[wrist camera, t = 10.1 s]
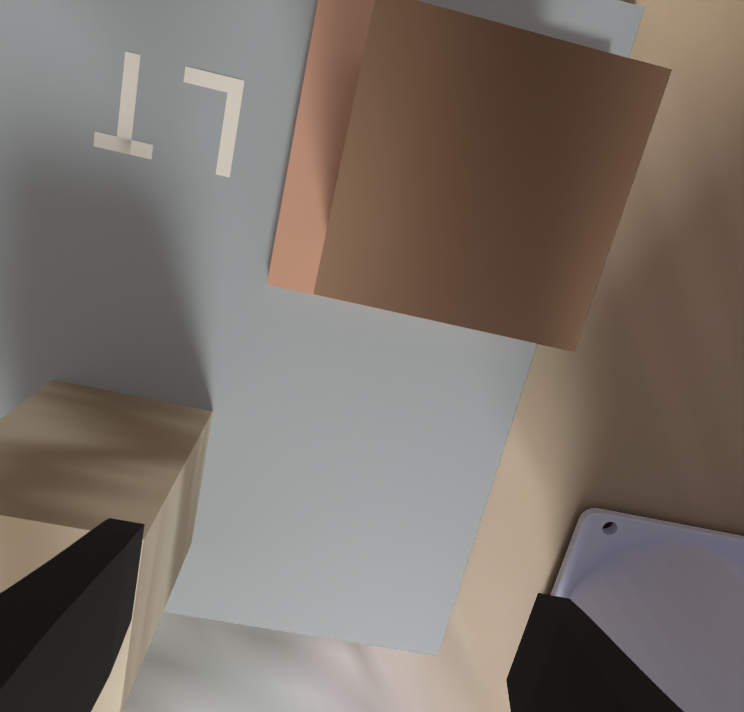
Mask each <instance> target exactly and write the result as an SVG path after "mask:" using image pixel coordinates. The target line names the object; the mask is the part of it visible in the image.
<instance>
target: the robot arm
mask: <svg viewBox="0 0 744 712" xmlns="http://www.w3.org/2000/svg"><path fill="white" fill-rule="evenodd" d="M607 522H613V523H612V525H611V526H610V527H608V528H602V527H603V526H604V524H605V523H607ZM144 526H145V524H141V523H135V522H130V521H124V520H118V519H112V518H108V519H107V520H105V521H104V522H102V523H100V524H99V525H98V526H96V527H95V528H93V529H92V530H91V531H89V532H88V533H87V534H85V535H84V536H82V537H81V538H80V539H78V540H77V541H76V542H74V543H73V544H71V545H70V546H69V547H67V548H66V549H64V550H63V551H62V552H60V553H59V554H57V555H56V556H55V557H53V558H52V559H50V560H49V561H48V562H46V563H45V564H43V565H42V566H40V567H39V568H37V569H36V570H34V571H33V572H31V573H30V574H28V575H27V576H25V577H24V578H22V579H21V580H19V581H18V582H16V583H15V584H14V585H12V586H10V587H9V588H7V589H6V590H4V591H3V592H1V593H0V712H91V711H92V709H93V707H94V705H95V703H96V701H97V699H98V697H99V695H100V694H101V692H102V690H103V688H104V686H105V684H106V682H107V680H108V678H109V676H110V674H111V671H112V669H113V666H114V664H115V661H116V659H117V656H118V654H119V651H120V649H121V646H122V643H123V641H124V638H125V636H126V633H127V630H128V628H129V625H130V623H131V620H132V613H133V606H134V599H135V591H136V584H137V577H138V569H139V562H140V555H141V547H142V540H143V533H144ZM507 687H508V694H509V701H510V708H511V712H744V536H741V535H736V534H731V533H726V532H720V531H715V530H710V529H705V528H699V527H694V526H689V525H684V524H678V523H673V522H668V521H663V520H657V519H652V518H647V517H642V516H636V515H631V514H626V513H621V512H615V511H610V510H605V509H600V508H590V509H587V510H585V511H584V512H583V513H582V514H581V516H580V517H579V519H578V522H577V525H576V528H575V530H574V533H573V536H572V538H571V541H570V544H569V546H568V549H567V552H566V554H565V557H564V560H563V562H562V565H561V568H560V570H559V573H558V576H557V578H556V581H555V584H554V587H553V589H552V592H551V595H547V594H541V593H538V595H537V598H536V600H535V603H534V606H533V609H532V611H531V614H530V617H529V620H528V622H527V625H526V628H525V631H524V633H523V636H522V639H521V642H520V644H519V647H518V650H517V652H516V655H515V658H514V661H513V663H512V666H511V669H510V672H509V674H508V677H507Z"/></svg>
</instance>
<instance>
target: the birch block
mask: <svg viewBox="0 0 744 712" xmlns="http://www.w3.org/2000/svg"><path fill="white" fill-rule="evenodd" d="M212 415H213V411H209V410H204V409H199V408H194V407H189V406H184V405H179V404H173V403H168V402H163V401H158V400H153V399H148V398H143V397H137V396H132V395H127V394H122V393H117V392H112V391H107V390H101V389H96V388H91V387H86V386H81V385H76V384H70V383H65V382H60V381H55V380H51V381H50V382H49V383H47V384H46V385H45V386H44V387H42V388H41V389H40V390H38V391H37V392H36V393H34V394H33V395H32V396H30V397H29V398H28V399H26V400H25V401H24V402H22V403H21V404H20V405H18V406H17V407H16V408H14V409H13V410H12V411H10V412H9V413H8V414H6V415H5V416H4V417H2V418H1V419H0V593H1V592H3V591H4V590H6V589H7V588H9V587H10V586H12V585H14V584H15V583H16V582H18V581H19V580H21V579H22V578H24V577H25V576H27V575H28V574H30V573H31V572H33V571H34V570H36V569H37V568H39V567H40V566H42V565H43V564H45V563H46V562H48V561H49V560H50V559H52V558H53V557H55V556H56V555H57V554H59V553H60V552H62V551H63V550H64V549H66V548H67V547H69V546H70V545H71V544H73V543H74V542H76V541H77V540H78V539H80V538H81V537H82V536H84V535H85V534H87V533H88V532H89V531H91V530H92V529H93V528H95V527H96V526H98V525H99V524H100V523H102V522H104V521H105V520H107V519H108V518H112V519H118V520H124V521H130V522H135V523H141V524H145V526H144V533H143V540H142V547H141V555H140V562H139V569H138V577H137V584H136V591H135V599H134V606H133V613H132V620H131V623H130V625H129V628H128V630H127V633H126V636H125V638H124V641H123V643H122V646H121V649H120V651H119V654H118V656H117V659H116V661H115V664H114V666H113V669H112V671H111V674H110V676H109V678H108V680H107V682H106V684H105V686H104V688H103V690H102V692H101V694H100V695H99V697H98V699H97V701H96V703H95V705H94V707H93V709H92V711H91V712H122V711H123V708H124V706H125V704H126V701H127V699H128V696H129V694H130V691H131V689H132V687H133V684H134V682H135V679H136V677H137V674H138V672H139V670H140V667H141V665H142V662H143V660H144V657H145V655H146V653H147V650H148V648H149V645H150V643H151V640H152V638H153V636H154V633H155V631H156V628H157V626H158V623H159V621H160V619H161V616H162V614H163V611H164V609H165V606H166V604H167V602H168V599H169V597H170V594H171V592H172V589H173V587H174V585H175V582H176V580H177V577H178V575H179V572H180V570H181V568H182V565H183V563H184V560H185V558H186V555H187V553H188V551H189V548H190V546H191V543H192V536H193V530H194V524H195V518H196V512H197V506H198V500H199V494H200V488H201V482H202V476H203V469H204V463H205V457H206V451H207V445H208V439H209V433H210V427H211V421H212Z"/></svg>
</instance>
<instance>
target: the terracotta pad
mask: <svg viewBox="0 0 744 712" xmlns="http://www.w3.org/2000/svg"><path fill="white" fill-rule="evenodd" d="M374 2H375V0H318V3H317V8H316V14H315V19H314V25H313V31H312V36H311V42H310V47H309V53H308V58H307V64H306V69H305V75H304V81H303V86H302V92H301V97H300V103H299V108H298V114H297V119H296V125H295V131H294V136H293V142H292V147H291V153H290V158H289V164H288V169H287V175H286V181H285V186H284V192H283V197H282V203H281V208H280V214H279V219H278V225H277V231H276V236H275V242H274V247H273V253H272V258H271V264H270V269H269V275H268V281H267V285H271V286H275V287H280V288H285V289H289V290H294V291H298V292H303V293H308V294H312V295H315V294H313V293H314V288H315V283H316V279H317V274H318V269H319V264H320V259H321V255H322V250H323V245H324V240H325V236H326V231H327V226H328V221H329V217H330V212H331V207H332V202H333V197H334V193H335V188H336V183H337V178H338V174H339V169H340V164H341V159H342V154H343V150H344V145H345V140H346V135H347V131H348V126H349V121H350V116H351V112H352V107H353V102H354V97H355V92H356V88H357V83H358V78H359V73H360V69H361V64H362V59H363V54H364V50H365V45H366V40H367V35H368V30H369V26H370V21H371V16H372V11H373V7H374ZM317 296H320V295H317ZM322 297H324V296H322ZM326 298H329V297H326ZM331 299H333V298H331ZM336 300H338V299H336ZM340 301H342V300H340ZM345 302H347V301H345ZM350 303H351V302H350ZM354 304H356V303H354ZM359 305H360V304H359ZM363 306H365V305H363ZM368 307H370V306H368ZM373 308H374V307H373ZM377 309H379V308H377ZM382 310H383V309H382ZM387 311H388V310H387ZM391 312H392V311H391ZM396 313H397V312H396ZM405 315H406V314H405ZM414 317H415V316H414Z"/></svg>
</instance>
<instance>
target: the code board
mask: <svg viewBox="0 0 744 712" xmlns="http://www.w3.org/2000/svg"><path fill="white" fill-rule="evenodd" d="M418 1H421V2H425V3H429V4H432V5H436V6H440V7H443V8H447V9H451V10H454V11H458V12H462V13H465V14H469V15H473V16H476V17H480V18H484V19H487V20H491V21H495V22H498V23H502V24H506V25H509V26H513V27H517V28H520V29H524V30H528V31H531V32H535V33H539V34H542V35H546V36H550V37H553V38H557V39H561V40H564V41H568V42H572V43H575V44H579V45H583V46H586V47H590V48H594V49H597V50H601V51H605V52H608V53H612V54H616V55H619V56H623V57H627V58H629V55H630V52H631V49H632V46H633V43H634V39H635V36H636V33H637V30H638V27H639V24H640V21H641V18H642V14H643V11H644V8H645V7H642V6H638V5H635V4H631V3H628V2H624V1H620V0H418ZM317 3H318V0H0V419H1V418H2V417H4V416H5V415H6V414H8V413H9V412H10V411H12V410H13V409H14V408H16V407H17V406H18V405H20V404H21V403H22V402H24V401H25V400H26V399H28V398H29V397H30V396H32V395H33V394H34V393H36V392H37V391H38V390H40V389H41V388H42V387H44V386H45V385H46V384H47V383H49V382H50V381H51V380H55V381H60V382H65V383H70V384H76V385H81V386H86V387H91V388H96V389H101V390H107V391H112V392H117V393H122V394H127V395H132V396H137V397H143V398H148V399H153V400H158V401H163V402H168V403H173V404H179V405H184V406H189V407H194V408H199V409H204V410H209V411H213V415H212V421H211V427H210V433H209V439H208V445H207V451H206V457H205V463H204V469H203V476H202V482H201V488H200V494H199V500H198V506H197V512H196V518H195V524H194V530H193V536H192V543H191V546H190V548H189V551H188V553H187V555H186V558H185V560H184V563H183V565H182V568H181V570H180V572H179V575H178V577H177V580H176V582H175V585H174V587H173V589H172V592H171V594H170V597H169V599H168V602H167V604H166V606H165V609H164V611H163V612H168V613H174V614H180V615H186V616H193V617H199V618H205V619H211V620H217V621H223V622H230V623H236V624H242V625H248V626H254V627H260V628H267V629H273V630H279V631H285V632H291V633H297V634H304V635H310V636H316V637H322V638H328V639H334V640H341V641H347V642H353V643H359V644H365V645H371V646H378V647H384V648H390V649H396V650H402V651H408V652H414V653H421V654H427V655H433V656H438V653H439V650H440V646H441V643H442V640H443V637H444V634H445V631H446V628H447V625H448V621H449V618H450V615H451V612H452V609H453V606H454V603H455V600H456V596H457V593H458V590H459V587H460V584H461V581H462V578H463V574H464V571H465V568H466V565H467V562H468V559H469V556H470V553H471V549H472V546H473V543H474V540H475V537H476V534H477V531H478V528H479V524H480V521H481V518H482V515H483V512H484V509H485V506H486V503H487V499H488V496H489V493H490V490H491V487H492V484H493V481H494V477H495V474H496V471H497V468H498V465H499V462H500V459H501V456H502V452H503V449H504V446H505V443H506V440H507V437H508V434H509V431H510V427H511V424H512V421H513V418H514V415H515V412H516V409H517V406H518V402H519V399H520V396H521V393H522V390H523V387H524V384H525V380H526V377H527V374H528V371H529V368H530V365H531V362H532V359H533V355H534V352H535V349H536V346H537V344H536V343H532V342H527V341H523V340H518V339H514V338H509V337H505V336H500V335H496V334H491V333H487V332H482V331H478V330H473V329H469V328H464V327H460V326H455V325H451V324H446V323H442V322H437V321H433V320H428V319H424V318H419V317H414V316H410V315H405V314H401V313H396V312H391V311H387V310H382V309H377V308H373V307H368V306H363V305H359V304H354V303H350V302H345V301H340V300H336V299H331V298H326V297H322V296H317V295H312V294H308V293H303V292H298V291H294V290H289V289H285V288H280V287H275V286H271V285H267V281H268V275H269V269H270V264H271V258H272V253H273V247H274V242H275V236H276V231H277V225H278V219H279V214H280V208H281V203H282V197H283V192H284V186H285V181H286V175H287V169H288V164H289V158H290V153H291V147H292V142H293V136H294V131H295V125H296V119H297V114H298V108H299V103H300V97H301V92H302V86H303V81H304V75H305V69H306V64H307V58H308V53H309V47H310V42H311V36H312V31H313V25H314V19H315V14H316V8H317Z"/></svg>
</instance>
